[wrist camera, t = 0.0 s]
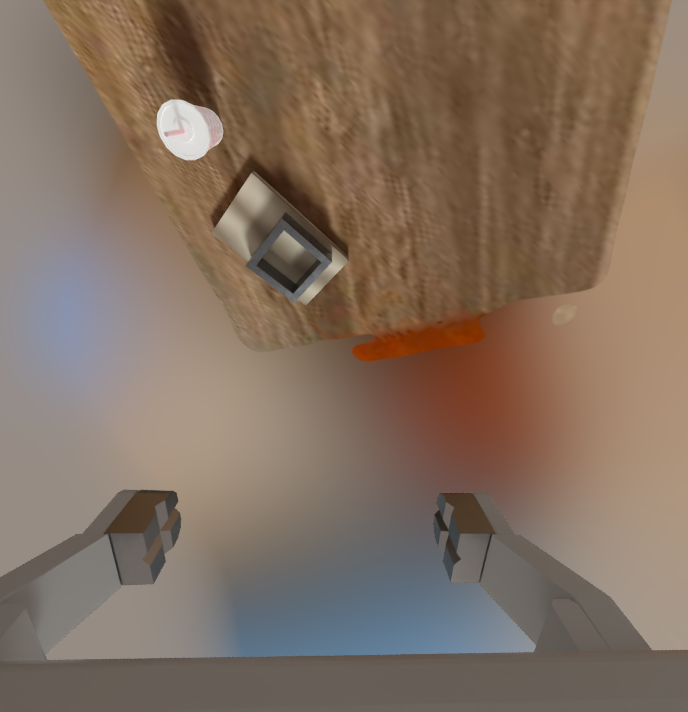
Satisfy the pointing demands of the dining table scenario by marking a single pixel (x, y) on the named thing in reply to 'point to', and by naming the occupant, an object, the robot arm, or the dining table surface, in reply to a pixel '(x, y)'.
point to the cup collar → (277, 277)
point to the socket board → (255, 221)
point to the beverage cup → (188, 129)
